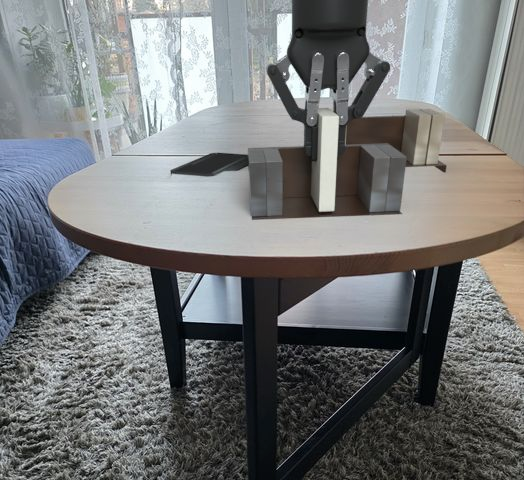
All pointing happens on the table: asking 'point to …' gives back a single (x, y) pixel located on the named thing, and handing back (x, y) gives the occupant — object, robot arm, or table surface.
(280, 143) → the table surface
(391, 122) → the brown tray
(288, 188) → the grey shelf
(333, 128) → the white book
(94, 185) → the table surface
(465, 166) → the table surface
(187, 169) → the phone
